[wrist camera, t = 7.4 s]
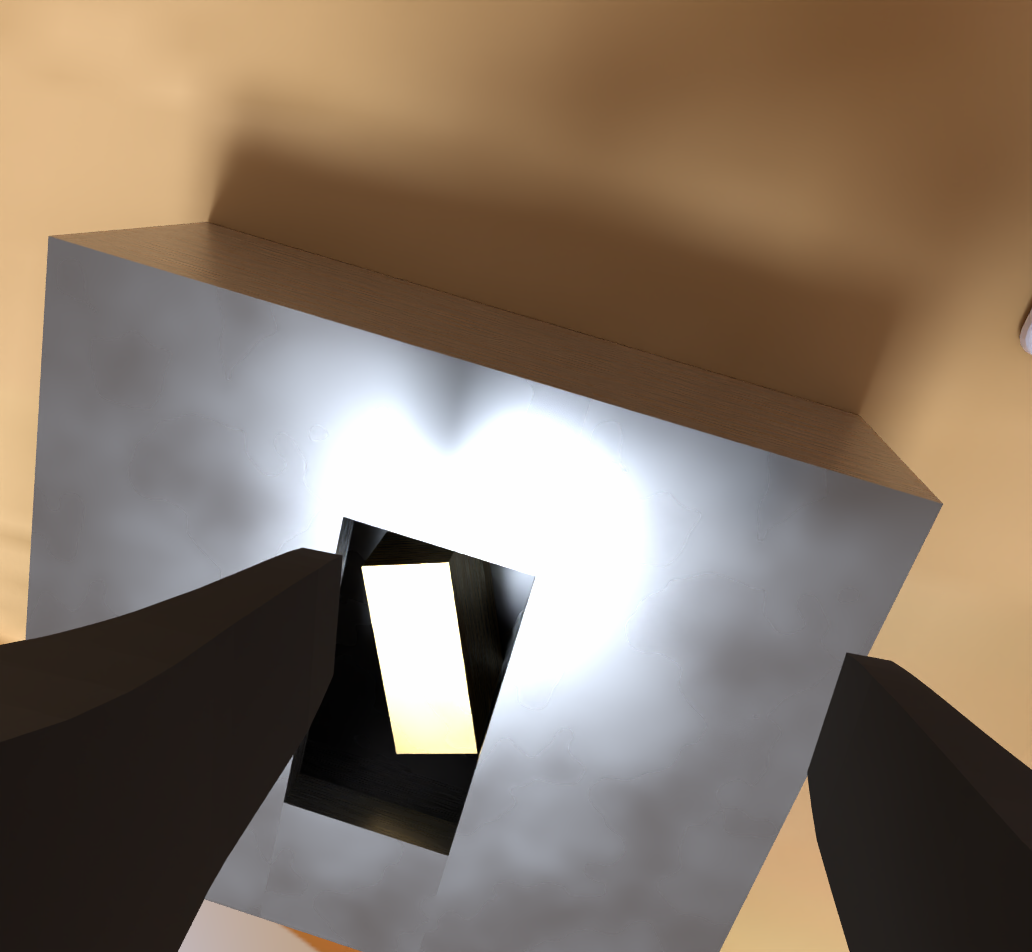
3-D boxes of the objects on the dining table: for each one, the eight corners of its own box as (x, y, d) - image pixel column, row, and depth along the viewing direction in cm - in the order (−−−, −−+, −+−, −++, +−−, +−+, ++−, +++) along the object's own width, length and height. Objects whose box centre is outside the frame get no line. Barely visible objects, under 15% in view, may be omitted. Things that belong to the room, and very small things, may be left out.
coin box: (858, 415, 20) (943, 503, 15) (662, 862, 26) (668, 1053, 20) (206, 221, 21) (48, 236, 15) (147, 697, 26) (14, 835, 21)
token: (481, 497, 22) (448, 562, 18) (502, 662, 23) (477, 753, 20) (408, 502, 22) (361, 566, 18) (435, 664, 24) (396, 753, 20)
